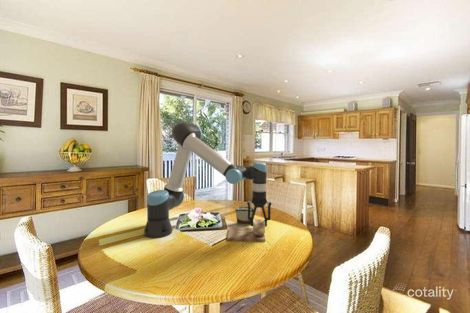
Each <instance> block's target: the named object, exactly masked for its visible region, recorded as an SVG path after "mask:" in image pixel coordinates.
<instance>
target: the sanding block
mask: <svg viewBox="0 0 470 313" xmlns="http://www.w3.org/2000/svg"><path fill="white" fill-rule="evenodd" d="M253 220H254V234H255V236H264V235H265V233H264V222H263V220H264V219H258V218H254V219H253Z"/></svg>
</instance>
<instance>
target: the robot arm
mask: <svg viewBox="0 0 470 313" xmlns="http://www.w3.org/2000/svg"><path fill="white" fill-rule="evenodd" d="M171 136H172V139H173V140H174V142H176V144H177V151H176V155H175V157H174V161H173V164H172V168H171V172H170V176H169V179H168V182H167V183H166V184H165V185H164V188H163V189H158V190H153V191H151V192H149V193H148V194H147V196H146V207H147V208H146V211H147V212H146V213H147V214H146V216H147V217H146V218H147V220H146V224H145V228H144V234H143V235H144V236H145V237H146V238H153V239H156V238H164V237H167V236H169V235H171V234H172V233H173V226H172V224H171V221H170V220H171V219H170V213H169V212H170V211H171V210H173V209H175V208H177V207H179V206H180V205H181V204H182V203H183V202H184V199H185V193H184V187H183V185H184V180H185V178H186V177H185V176H186V174H187V171H188V167H189V164H190V160H191V157H192V152H193V154H194V155H196V156H197V157H198V158H200V159H201V160H203V162H205V163H207V164H208V165H209V166H210V167H212V168H213V169H214V170H216V171H217V172H218V173H220V174H221V175H222V176H224V177H225V180H226V182H227V183H228V184H231V185H235V184H239V183H240V182H242V181H243V180H250V181H251V180H252V192H251V193H252V199H251V200H247V201H246V204H247V207H248V220H251V225H250V226H251V227H252V228H253V233H254V219H255V215H256V211H257V208H260V209H261V210H262V211H261V212H262V214H263V219H262V220H263V222H264V234H265V233H266V227H267V226H268V221H270V220H271V206H272V202H271V201H268V200H267V173H268V171H267V164H266V163H265V162H253V163H252V165H238V164H237V165H236V164H233V162H230V161H229V160H228V159H226V158H225V157H224V156H223V155H221V154H220V153H219V152H217V151H216V150H215V149H213V148H212V147H210V146H209V145H208V144H206V143H205V142H204V141H203V140H202V137H203V131H202V129H201V127H200V126H198V124H195V123H192V122H184V121H180V122H178V123H176V124H174V125H173V127H172V129H171ZM252 204H253V213H252V216H251V217H250V207H251V205H252ZM266 205H267V213H266V211H265V210H266V209H265V206H266ZM266 214H267V215H266Z"/></svg>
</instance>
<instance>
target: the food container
mask: <svg viewBox="0 0 470 313" xmlns="http://www.w3.org/2000/svg"><path fill="white" fill-rule="evenodd" d="M253 209H254V207H251V206H250V217H251V216H252V213H253ZM234 212H235V215H236V216H235V217H236V225H250V226H251V220H248V206H244V205H243V206H238V207H236V208H235V209H234Z"/></svg>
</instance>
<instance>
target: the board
mask: <svg viewBox="0 0 470 313" xmlns="http://www.w3.org/2000/svg"><path fill="white" fill-rule="evenodd" d="M226 241H234V242H261V243H262V242H266V235H265V234H264V236H255V234H254V233H253V227H234V226H233V227H229V228H228V233H227V240H226Z"/></svg>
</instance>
